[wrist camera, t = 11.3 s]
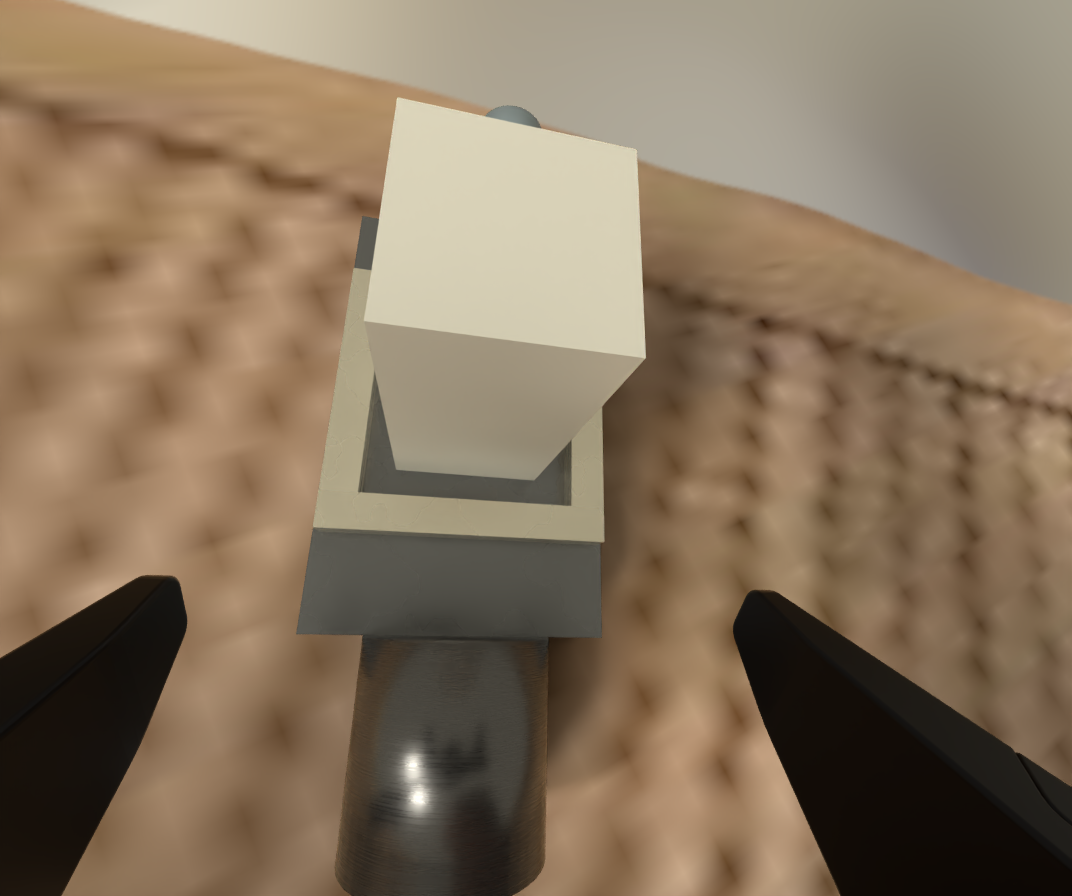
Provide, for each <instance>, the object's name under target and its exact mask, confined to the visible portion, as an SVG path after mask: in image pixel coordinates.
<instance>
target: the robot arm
mask: <svg viewBox="0 0 1072 896" xmlns="http://www.w3.org/2000/svg"><path fill="white" fill-rule="evenodd" d="M186 628H187V614H186V610H185V605H184V600H183V596H182V591H181V586H180V583H179V581H178V579H177V578H176V577H173V576H163V575H145V576H140V577H138V578H136V579H134V580H132V581H131V582H129V583H127V584H126V585H124V586H122V587H120V588H119V589H117V590H115V591H114V592H112V593H110V594H108V595H107V596H105V597H103V598H102V599H100V600H98V601H97V602H95V603H93V604H91V605H90V606H88V607H86V608H85V609H83V610H81V611H79V612H78V613H76V614H74V615H73V616H71V617H69V618H68V619H66V620H64V621H62V622H61V623H59V624H57V625H56V626H54V627H52V628H51V629H49V630H47V631H45V632H44V633H42V634H40V635H39V636H37V637H35V638H33V639H32V640H30V641H28V642H27V643H25V644H23V645H22V646H20V647H18V648H16V649H15V650H13V651H11V652H10V653H8V654H6V655H4V656H3V657H1V658H0V896H61V895H62V894H63V892H64V890H65V888H66V886H67V884H68V882H69V880H70V878H71V876H72V875H73V873H74V871H75V869H76V867H77V865H78V863H79V861H80V859H81V857H82V856H83V854H84V852H85V850H86V848H87V846H88V844H89V842H90V840H91V838H92V836H93V835H94V833H95V831H96V829H97V827H98V825H99V823H100V821H101V819H102V817H103V816H104V814H105V812H106V810H107V808H108V806H109V804H110V802H111V800H112V798H113V797H114V795H115V793H116V791H117V789H118V787H119V785H120V783H121V781H122V779H123V778H124V776H125V774H126V772H127V770H128V768H129V766H130V764H131V762H132V760H133V758H134V756H135V754H136V752H137V750H138V748H139V746H140V744H141V742H142V739H143V737H144V735H145V732H146V730H147V728H148V725H149V723H150V720H151V718H152V715H153V713H154V710H155V708H156V705H157V703H158V700H159V698H160V695H161V693H162V690H163V688H164V685H165V683H166V680H167V678H168V675H169V673H170V670H171V668H172V666H173V663H174V661H175V658H176V656H177V653H178V651H179V648H180V646H181V643H182V641H183V638H184V635H185V632H186ZM733 634H734V638H735V641H736V644H737V647H738V650H739V653H740V656H741V659H742V662H743V665H744V668H745V671H746V674H747V677H748V679H749V682H750V685H751V688H752V691H753V694H754V697H755V700H756V703H757V706H758V709H759V711H760V714H761V717H762V719H763V722H764V725H765V727H766V729H767V732H768V734H769V737H770V739H771V741H772V743H773V746H774V748H775V750H776V752H777V755H778V757H779V759H780V761H781V764H782V766H783V768H784V770H785V773H786V775H787V777H788V779H789V781H790V784H791V786H792V788H793V790H794V793H795V795H796V797H797V799H798V802H799V804H800V806H801V808H802V811H803V813H804V815H805V817H806V820H807V822H808V824H809V826H810V829H811V831H812V833H813V835H814V838H815V840H816V842H817V844H818V847H819V849H820V851H821V853H822V855H823V858H824V860H825V862H826V864H827V867H828V869H829V871H830V873H831V876H832V878H833V880H834V882H835V885H836V887H837V889H838V891H839V894H840V896H1072V787H1070V786H1069V785H1067V784H1066V783H1064V782H1063V781H1061V780H1060V779H1058V778H1057V777H1055V776H1053V775H1052V774H1050V773H1049V772H1047V771H1046V770H1044V769H1043V768H1041V767H1040V766H1038V765H1037V764H1035V763H1034V762H1032V761H1031V760H1029V759H1028V758H1026V757H1025V756H1023V755H1022V754H1020V753H1015V752H1014V750H1013V749H1012V748H1011V747H1010V746H1008V745H1007V744H1005V743H1004V742H1002V741H1001V740H999V739H998V738H996V737H995V736H993V735H992V734H990V733H988V732H987V731H985V730H984V729H982V728H981V727H979V726H978V725H976V724H975V723H973V722H972V721H970V720H969V719H967V718H966V717H964V716H963V715H961V714H960V713H958V712H957V711H955V710H954V709H952V708H951V707H949V706H948V705H946V704H945V703H943V702H942V701H940V700H939V699H937V698H936V697H934V696H933V695H931V694H930V693H928V692H927V691H925V690H924V689H922V688H921V687H919V686H918V685H916V684H915V683H913V682H912V681H910V680H908V679H907V678H905V677H904V676H902V675H901V674H899V673H898V672H896V671H895V670H893V669H892V668H890V667H889V666H887V665H886V664H884V663H883V662H881V661H880V660H878V659H877V658H875V657H874V656H872V655H871V654H869V653H868V652H866V651H865V650H863V649H862V648H860V647H859V646H857V645H856V644H854V643H853V642H851V641H850V640H848V639H847V638H845V637H844V636H842V635H841V634H839V633H838V632H836V631H835V630H833V629H832V628H830V627H829V626H827V625H826V624H824V623H823V622H821V621H820V620H818V619H817V618H815V617H813V616H812V615H810V614H809V613H807V612H806V611H804V610H803V609H801V608H800V607H798V606H797V605H795V604H794V603H792V602H791V601H789V600H788V599H786V598H785V597H783V596H782V595H780V594H779V593H777V592H775V591H772V590H752V591H750V592H749V593H748V594H747V596H746V598H745V600H744V602H743V604H742V606H741V608H740V610H739V613H738V615H737V617H736V619H735V621H734V625H733Z"/></svg>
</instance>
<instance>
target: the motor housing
mask: <svg viewBox="0 0 1072 896" xmlns="http://www.w3.org/2000/svg"><path fill="white" fill-rule="evenodd" d="M378 224H379V219H376V218H370V217H364V216H362V222H361V229H360V235H359V241H358V248H357V254H356V260H355V267H354V270H353V276H352V283H351V289H350V295H349V302H348V308H347V314H346V320H345V327H344V333H343V339H342V346H341V352H340V358H339V365H338V371H337V377H336V383H335V390H334V396H333V402H332V409H331V415H330V421H329V428H328V434H327V440H326V446H325V453H324V459H323V465H322V472H321V478H320V484H319V491H318V497H317V503H316V509H315V516H314V522H313V532H312V538H311V544H310V551H309V557H308V563H307V570H306V576H305V582H304V589H303V595H302V601H301V608H300V614H299V620H298V627H297V633H296V634H329V635H363V638H362V646H361V655H360V663H359V671H358V679H357V688H356V696H355V704H354V713H353V721H352V729H351V737H350V746H349V754H348V762H347V771H346V779H345V787H344V796H343V804H342V812H341V820H340V829H339V837H338V845H337V854H336V862H335V875H336V878H337V880H338V882H339V884H340V885H341V886H342V888H343V889H344V890H345V891H346V892H348V893H349V894H350V895H351V896H512V895H514V894H516V893H518V892H520V891H521V890H523V889H524V888H525V887H527V886H528V885H529V884H530V883H532V882H533V881H534V880H535V879H536V878H537V876H538V875H539V874H540V872H541V870H542V868H543V866H544V862H545V839H546V774H547V710H548V645H549V639H548V638H547V637H581V638H602V623H601V554H600V543H603V542H604V489H603V430H602V407H601V408H600V409H599V410H598V411H597V412H596V413H595V414H594V416H593V417H592V418H591V419H590V420H589V421H588V422H587V423H586V424H585V425H584V426H583V428H582V429H581V430H580V431H579V432H578V433H577V434H576V435H575V436H574V437H573V439H572V440H571V441H570V442H569V443H568V444H567V445H566V446H565V447H564V448H563V449H562V451H561V452H560V453H559V454H558V455H557V456H556V457H555V458H554V459H553V460H552V462H551V463H550V464H549V465H548V466H547V467H546V468H545V469H544V470H543V471H542V472H541V474H540V475H539V476H538V477H537V478H536V479H535V480H521V479H508V478H495V477H482V476H469V475H457V474H444V473H431V472H418V471H405V470H396V467H395V462H394V458H393V453H392V448H391V444H390V439H389V435H388V430H387V425H386V421H385V416H384V412H383V407H382V402H381V398H380V393H379V388H378V384H377V379H376V375H375V370H374V365H373V361H372V356H371V351H370V347H369V342H368V338H367V333H366V328H365V324H364V317H365V310H366V304H367V297H368V290H369V284H370V277H371V270H372V264H373V257H374V250H375V244H376V237H377V230H378Z"/></svg>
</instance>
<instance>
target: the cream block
mask: <svg viewBox="0 0 1072 896" xmlns="http://www.w3.org/2000/svg"><path fill="white" fill-rule="evenodd" d="M364 324H365V328H366V333H367V338H368V342H369V347H370V351H371V356H372V361H373V365H374V370H375V375H376V379H377V384H378V388H379V393H380V398H381V402H382V407H383V412H384V416H385V421H386V425H387V430H388V435H389V439H390V444H391V448H392V453H393V458H394V462H395V467H396V470H405V471H418V472H431V473H444V474H457V475H469V476H482V477H495V478H508V479H521V480H535V479H536V478H537V477H538V476H539V475H540V474H541V472H542V471H543V470H544V469H545V468H546V467H547V466H548V465H549V464H550V463H551V462H552V460H553V459H554V458H555V457H556V456H557V455H558V454H559V453H560V452H561V451H562V449H563V448H564V447H565V446H566V445H567V444H568V443H569V442H570V441H571V440H572V439H573V437H574V436H575V435H576V434H577V433H578V432H579V431H580V430H581V429H582V428H583V426H584V425H585V424H586V423H587V422H588V421H589V420H590V419H591V418H592V417H593V416H594V414H595V413H596V412H597V411H598V410H599V409H600V408H601V407H602V406H603V405H604V403H605V402H606V401H607V400H608V399H609V398H610V397H611V396H612V395H613V394H614V393H615V391H616V390H617V389H618V388H619V387H620V386H621V385H622V384H623V383H624V382H625V380H626V379H627V378H628V377H629V376H630V375H631V374H632V373H633V372H634V371H635V370H636V368H637V367H638V366H639V365H640V364H641V363H642V362H643V361H644V360H645V359H646V351H645V328H644V305H643V282H642V259H641V236H640V213H639V190H638V167H637V150H636V149H632V148H627V147H622V146H618V145H614V144H609V143H605V142H600V141H595V140H591V139H586V138H582V137H577V136H572V135H568V134H563V133H559V132H554V131H550V130H545V129H541V127H540V124H539V122H538V121H537V119H536V118H535V117H534V116H533V115H532V114H531V113H530V112H528V111H527V110H525V109H523V108H520V107H517V106H501V107H498V108H495V109H493V110H491V111H490V112H489V113H488V114H487V115H486V116H481V115H476V114H472V113H467V112H462V111H458V110H453V109H449V108H444V107H439V106H435V105H430V104H426V103H421V102H416V101H412V100H407V99H403V98H398V97H397V103H396V110H395V117H394V123H393V130H392V137H391V143H390V150H389V157H388V163H387V170H386V177H385V183H384V190H383V197H382V204H381V210H380V217H379V224H378V230H377V237H376V244H375V250H374V257H373V264H372V270H371V277H370V284H369V290H368V297H367V304H366V310H365V317H364Z"/></svg>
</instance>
